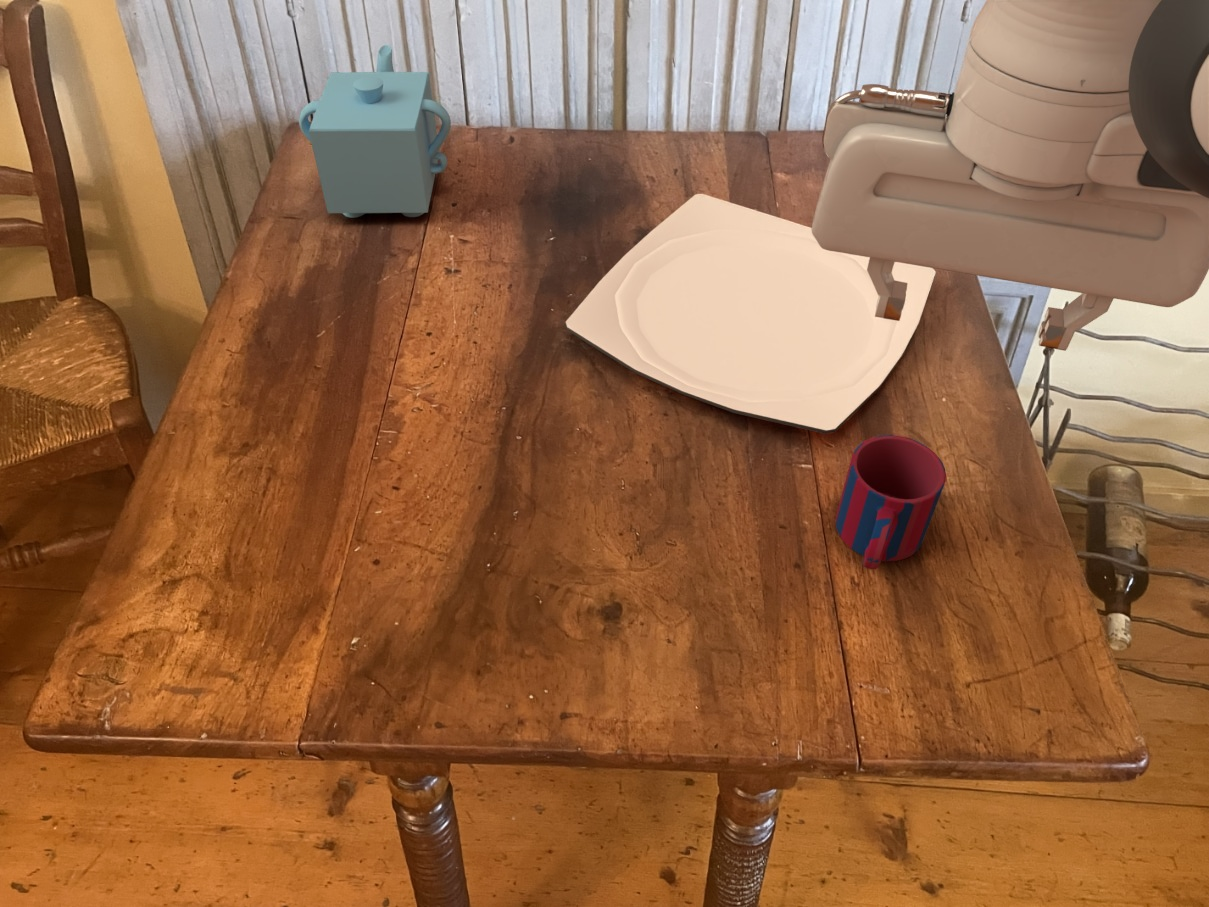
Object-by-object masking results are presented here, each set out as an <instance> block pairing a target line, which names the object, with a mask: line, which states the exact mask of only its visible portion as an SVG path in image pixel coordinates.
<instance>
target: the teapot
mask: <svg viewBox="0 0 1209 907" xmlns="http://www.w3.org/2000/svg"><path fill="white" fill-rule="evenodd" d="M432 92H433V91H432V85H431V77H430V72H428V71H395V69H394V63H393V49H392V47H391V45H389V44H385V45H382V46H381V47H380V48H379V49H378V52H377V61H376V71H354V72H353V71H347V72H345V71H343V72H342V71H341V72H336V71H335V72H333V71H332V72H330V73H329V77H328V79H327V81H326V83H325V86H324V89H323V91H322V94H321V96H320V99H317V100H312V101H310V102H309V103H307V104H306V105H305V106H304V107H303V108H302V110H301V112H300V114H299V117H298V125H299V128H300V130H301V132H302V134H303V136H304V137H305V138H306V139H307V140H308V141H309V142H310V144H311V147H312V152H313V156H314V160H315V165H316V169H317V174H318V178H319V181H320V185H321V186H320V187H321V190H322V196H323V199H324V203H325V207H326V211H327V214H343V216H345V217H347V218H351V219H352V218H359V217H362V216H364V215H365V214H393V213H394V214H402V215H403V216H404V217H407V218H417V217H421V216H422V215H424V214H425V213H429V207H430V203H431V197H432V192H433V188H434V182H435V178H436V175H437V174H441V173H443V172H444V171H445V170H447V167H448V158H447V156H446V155H445V154H444V153H443V152H441V151H440V149H441V147H442V146H443V144H444V143H445V141H446V139H447V137H448V135H449V134H450V130H451V127H452V126H451V125H452V120H451V116H450V113H449V112H448V110H447V109H446V108H445V106H443V105H442V104H440V103H439V102H437V101H436V100H433V94H432ZM313 114H314V115H313ZM311 115H313V118H312V119H311V120H312V121H311V122H310V121H309V117H310V116H311ZM436 116H437V117H438V118H439V119H440V120H441V127H440V129H439V131H437V124H436ZM438 161H439V162H438Z"/></svg>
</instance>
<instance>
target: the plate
mask: <svg viewBox="0 0 1209 907" xmlns="http://www.w3.org/2000/svg"><path fill="white" fill-rule="evenodd" d="M811 229H812V227H810V226H806V225H803V224H801V223H798V222H794V221H790V220H788V219H784V218H781V217H778V216H775V215H772V214H770V213H769V214H768V213H765V212H762V211H760V210H756V209H752V208H751V207H750V208H749V207H746V206H743V205H739V204H736V203H733V202H730V201H728V200H723V199H721V198H719V197H718V198H717V197H715V196H712V195H707V194H705V193H696V194H694V195H693V196H691V197H690V198H689V199H688V200H687V201H686V202H684V203H683V204H682V205H681V206H679V208H677V209H676V210H675V211H673V212H672V213H671V214H670V215H669V216H667V218H665V219H664V220H662V222H660V223H659V224H658V225H657V226H656V227H654V228H653V229H652V230H651V231H650V232H648V233H647V235H645V236H644V237H643V238H641V240H639V241H638V242H637V244H635V245H634V246H633V247H632V248H631V249H630V250H629V251H628V252H626V253H625V254H624V255H623V256H622V257H621V258H620V260H618V262H616V263H615V265H614V266H613V267H612V268H611V269H609V271H608V272H607V273H606V274H605V275H604V276H603V277H602V278H601V279H600V280H599V281H598V282H597V284H596V285H595V286H594V288H592V289H591V291H590V292H589V293H588V294H587V295H586V297H585V298H584V299H583V300H582V302H581V303H580V304H579V305H578V306H577V308H576V309H575V310H574V311H573V312H572V313H571V315H570V316H569V317H568V318H567V319H566V321H565V324H564V325H565V329H566V331H567V332H569V333H570V334H572V335H574V337H577V338H578V339H580V340H581V341H583V342H585V343H586V344H588V345H590V346H592V347H593V348H594V349H596V350H598V351H599V352H601V353H602V354H604V355H606V356H607V357H609V358H611V359H612V360H614V361H616V362H617V363H618V364H620V365H621V366H622V367H625V368H626V369H627V370H630V371H631V372H633V373H634V374H637V375H639V376H641V377H643V378H646V379H648V380H650V381H652V382H654V383H657V384H659V385H661V386H663V387H666V388H668V389H670V390H672V391H675V392H677V393H679V394H681V395H683V396H685V397H689V398H692V399H695V400H697V401H699V402H702V403H705V404H708V405H710V406H714V407H716V408H719V409H722V410H725V411H727V412H730V413H733V414H736V415H737V414H738V415H741V416H746V417H749V418H750V417H751V418H755V419H760V420H763V421H767V422H772V423H776V424H780V425H786V426H788V427H789V426H790V427H794V428H799V429H803V430H807V431H811V432H815V433H820V434H825V435H826V434H833V433H836V432H837V431H838V430H839V429H840V428H841V427H842V426H843V425H844V424H845V423H846V422H847V421H848V420H849V419H850V418H851V417H852V416H854V414H855V413H856V412H857V411H858V410H859V409H860V408H861V407H862V406H863V405H864V404H866V402H867V401H868V400H869V399H870V398H871V397H872V396H873V395H874V394H875V393H876V392H877V391H878V390H880V388H881V387H882V385H883V384H884V382H886V380H887V378H888V377H889V376H890V374H891V373H892V372H893V371H894V369H895V367H896V366H897V365H898V363H899V362H900V361H901V359H902V358H903V356H904V354H905V352H906V350H907V348H908V346H909V344H910V343H911V341H912V339H913V336H914V335H915V333H916V331H917V329H918V327H919V324H920V322H921V318H922V315H923V313H924V309H925V307H926V303H927V300H928V298H929V294H930V292H931V289H932V286H933V283H934V281H935V278H936V275H937V274H936V273H937V271H936V269H935V268H929V267H923V266H918V265H912V264H906V263H900V262H895V263H894V266H893V270H892V275H893V278H894V280H895V281H900V282H905V283H907V290H906V299H905V303H904V307H903V310H902V313H901V317H900V320H899V321H896V320H890V319H884V318H880V317H875V312H876V306H877V301H878V296H879V295H878V294H877V292H876V289H875V287H874V285H873V283H872V280H871V278H870V276H869V274H868V271H867V268H868V262H869V257H864V256H858V255H852V254H846V253H840V252H834V251H828V250H825V249H822V248H821V247H820V245H819V244H818V242H817V241H816V239H815V237H814V236H813V234H812V232H811Z"/></svg>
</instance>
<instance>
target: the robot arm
mask: <svg viewBox="0 0 1209 907" xmlns="http://www.w3.org/2000/svg"><path fill="white" fill-rule="evenodd" d="M857 99H858V100H857ZM855 100H857V101H855ZM821 141H822V142H821V143H822V147H823V150H824V153H825V155H826V156H827V157H828V159H829V162H828V165H827V169H826V171H825V175H824V178H823V182H822V185H821V188H820V192H819V195H818V199H817V203H816V207H815V212H814V216H813V219H812V223H811V224H812V225H811V228H812V229H811V232H812V234H813V236H814V237H815V239H816V241H817V242H818V244H819V245H820V247H821V248H822V249H825V250H828V251H834V252H840V253H846V254H852V255H858V256H864V257H869V262H868V268H867V271H868V274H869V276H870V278H871V280H872V283H873V285H874V287H875V289H876V292H877V294H878V295H879V296H878V301H877V306H876V312H875V317H880V318H884V319H890V320H896V321H899V320H900V317H901V313H902V310H903V307H904V303H905V299H906V290H907V283H905V282H900V281H895V280H894V278H893V275H892V270H893V266H894V263H895V262H900V263H906V264H912V265H918V266H923V267H929V268H933V269H934V270H941V271H948V272H954V273H959V274H960V273H961V274H965V275H971V276H976V277H977V276H978V277H983V278H990V279H996V280H1003V281H1007V282H1014V283H1019V284H1025V285H1032V286H1038V287H1043V288H1049V289H1055V290H1060V291H1068V292H1074V293H1079V294H1080V295H1078V296H1077V297H1076V298H1075V299H1074V300H1072V301H1071V302H1069V303H1068V304H1067V305H1066V306H1065V307H1063V308H1057V307H1050V306H1048V307H1047V310H1046V311H1045V314H1044V320H1043V321H1042V322H1041V323H1040V326H1039V330H1038V339H1039V340H1038V346H1039V347H1044V348H1049V349H1053V350H1059V351H1066V352H1067V350H1068V348H1069V346H1070V343H1071V341H1072V339H1073V337H1074V335H1075V332H1076V331H1079V330H1081V329H1083V328H1084V327H1086V326H1087V325H1089V324H1090V323H1091V322H1093V321H1095V320H1097V319H1098V318H1100V317H1101V316H1102V315H1103V316H1104V314H1106V313H1108V312H1109V309H1110V307H1111V305H1112V303H1113V301H1114V300H1115V299H1116V300H1122V301H1128V302H1133V303H1138V304H1145V305H1150V306H1156V307H1160V308H1161V307H1162V308H1173V307H1175V306H1178V305H1179V304H1181V303H1183V302H1185V301H1187V300H1189V299H1191V298H1193V297H1194V296H1195V295H1196V294H1197V293H1198V291H1199V289H1200V288H1201V287H1202V284H1203V282H1204V280H1205V279H1206V276H1207V274H1208V272H1209V0H985V3H984V4H983V6H982V7H981V9H980V11H979V12H978V14H977V16H976V17H975V19H974V22H973V24H972V27H971V29H970V33H969V36H968V40H967V44H966V47H965V52H964V55H963V58H962V62H961V66H960V70H959V73H958V76H957V80H956V83H955V87H954V91H953V92H951V93H947V92H941V91H940V92H938V91H929V90H923V89H922V90H921V89H915V90H914V89H904V90H903V89H900V88H899V89H898V88H892V87H889V86H888V85H884V84H880V83H879V84H878V83H867V84H863V85H861V89H858V90H851V91H847V92H846V93H844V94H842V95H840V96H839V97H837V98H836V99H835V100H833V102H832V103H831V104H830V106H829V108H828V109H827V112H826V116H825V121H824V126H823V132H822V139H821Z"/></svg>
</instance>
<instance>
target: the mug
mask: <svg viewBox="0 0 1209 907" xmlns="http://www.w3.org/2000/svg"><path fill="white" fill-rule="evenodd" d="M946 481H947V472H946V468H945V465H944V463H943V461H942V460H941V459H940V457H939V456H938V454H936V452H935V451H934V450H933V449H931V448H930V447H928V446H927V445H925V444H923V443H922V442H920V441H917V440H916V439H913V438H910V437H906V436H903V435H893V434H884V435H878V436H872V437H870V438H867V439H865V440H864V441H862V442H861V443H860V444H858V445H857V447H856V448H855V449H854V451H853V452H852V455H851V458H850V463H849V465H848V470H847V473H846V477H845V481H844V485H843V488H842V492H841V495H840V500H839V503H838V507H837V510H836V513H835V514H836V515H835V528H836V530H837V533H838V536H839V537H840V539H841V540H842V542H843V543H844V544H845V545H846V546H848V547H849V549H851V550H852V551H853V552H855V553H857V554H859V555H861V556H862V557H863V559H862V560H863V561H862V565H863V567H864V568H866V569H868V570H873V571H876V570H877V569H879V566H880V564H881V562H897V561H901V560H904V559H907V558H909V557H911V556H913V555H914V554H916V552H918V551H919V549H920V548H921V547H922V545H923V542H924V540H925V537H926V535H927V532H928V528H929V527H930V524H931V521H932V519H933V516H934V513H935V511H936V508H937V505H938V503H939V500H940V498H941V495H942V492H943V489H944V487H945V484H946Z"/></svg>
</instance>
